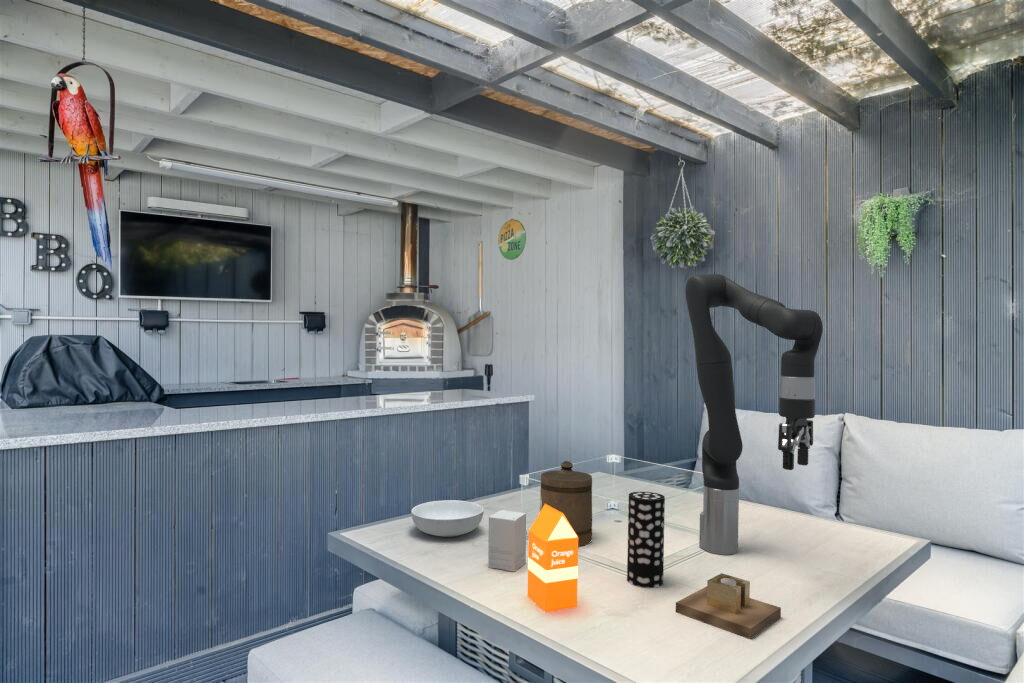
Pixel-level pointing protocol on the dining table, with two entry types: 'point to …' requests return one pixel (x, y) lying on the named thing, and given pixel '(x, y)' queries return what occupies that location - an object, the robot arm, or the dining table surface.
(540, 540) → the orange juice
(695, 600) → the shaft stand
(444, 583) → the dining table surface
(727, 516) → the robot arm
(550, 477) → the wooden container
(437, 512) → the serving bowl
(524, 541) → the supplement box
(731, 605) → the slotted square frame
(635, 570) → the spotted tube
